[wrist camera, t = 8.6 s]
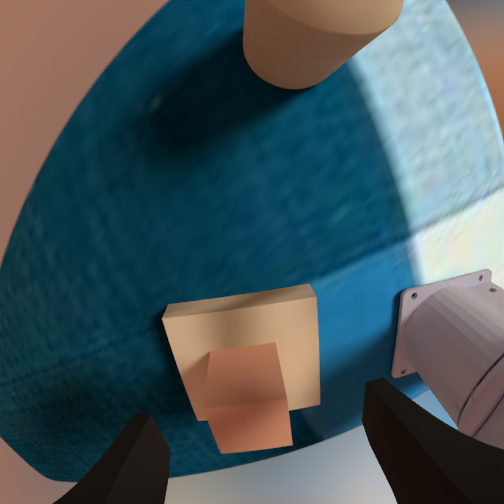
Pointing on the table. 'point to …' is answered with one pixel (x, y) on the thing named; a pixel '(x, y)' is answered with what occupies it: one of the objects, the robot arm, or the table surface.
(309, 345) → the birch block
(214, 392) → the terracotta block
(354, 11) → the candle
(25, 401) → the table surface
